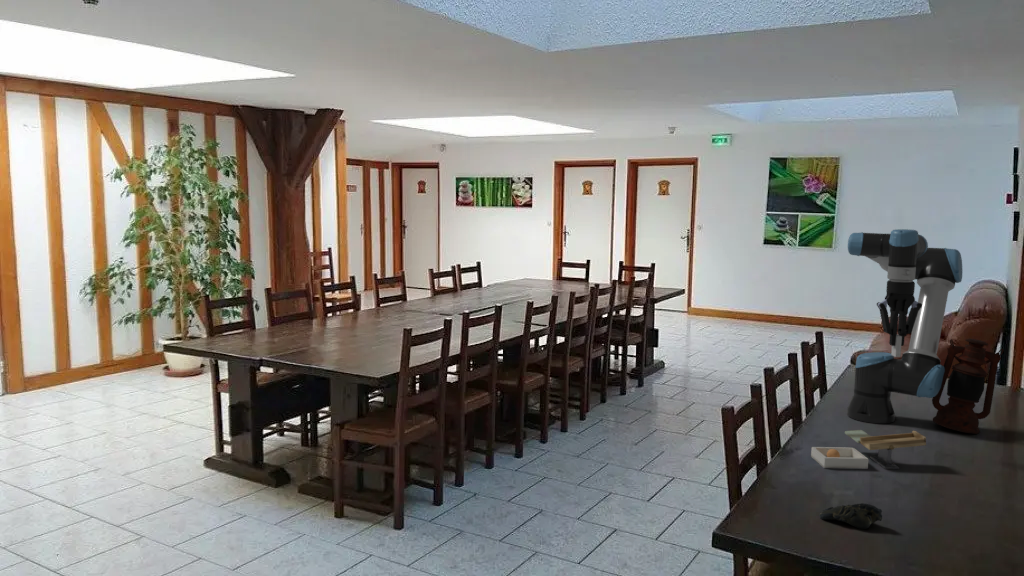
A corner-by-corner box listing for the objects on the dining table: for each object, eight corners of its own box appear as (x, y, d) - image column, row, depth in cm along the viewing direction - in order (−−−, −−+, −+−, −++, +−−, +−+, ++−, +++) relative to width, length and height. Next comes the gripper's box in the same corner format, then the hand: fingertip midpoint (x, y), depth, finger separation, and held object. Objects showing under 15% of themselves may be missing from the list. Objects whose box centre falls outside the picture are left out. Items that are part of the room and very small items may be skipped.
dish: (811, 456, 215) (811, 446, 215) (852, 457, 215) (853, 447, 214) (824, 468, 206) (824, 458, 205) (867, 468, 205) (868, 458, 205)
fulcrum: (869, 457, 215) (871, 441, 214) (883, 458, 214) (884, 441, 214) (884, 468, 206) (886, 452, 205) (899, 469, 206) (900, 452, 205)
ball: (829, 461, 212) (822, 451, 212) (838, 454, 212) (832, 445, 211) (834, 465, 209) (827, 456, 208) (844, 458, 208) (837, 449, 208)
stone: (819, 513, 176) (820, 492, 176) (880, 522, 171) (881, 500, 171) (819, 524, 170) (820, 502, 170) (882, 534, 165) (883, 512, 164)
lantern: (931, 424, 240) (952, 337, 235) (923, 414, 253) (943, 331, 248) (990, 438, 234) (1013, 349, 230) (979, 427, 247) (1001, 342, 243)
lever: (844, 433, 221) (844, 426, 221) (898, 429, 221) (898, 421, 221) (869, 451, 206) (869, 443, 205) (927, 446, 205) (927, 438, 205)
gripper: (885, 282, 216) (880, 358, 219) (929, 281, 215) (923, 358, 218) (873, 278, 223) (868, 353, 226) (916, 278, 223) (910, 353, 226)
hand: (895, 355), depth 222 cm, fingers closed
